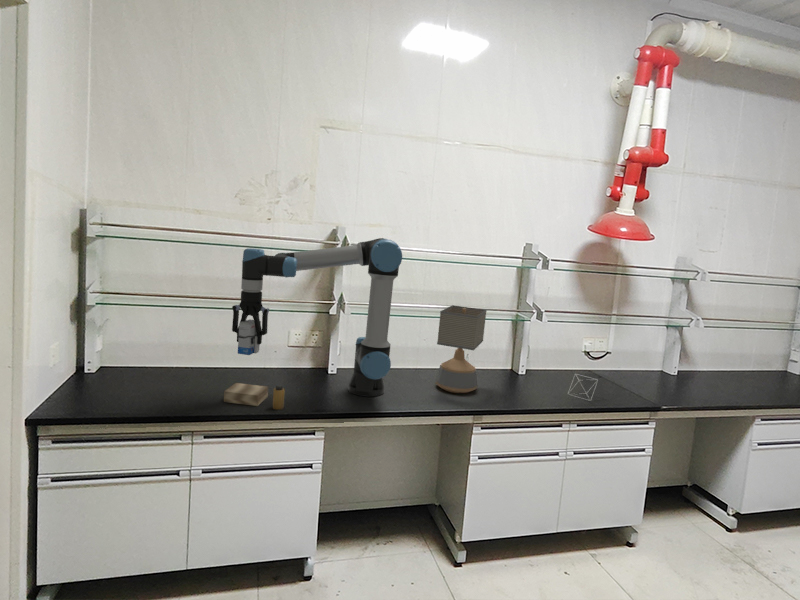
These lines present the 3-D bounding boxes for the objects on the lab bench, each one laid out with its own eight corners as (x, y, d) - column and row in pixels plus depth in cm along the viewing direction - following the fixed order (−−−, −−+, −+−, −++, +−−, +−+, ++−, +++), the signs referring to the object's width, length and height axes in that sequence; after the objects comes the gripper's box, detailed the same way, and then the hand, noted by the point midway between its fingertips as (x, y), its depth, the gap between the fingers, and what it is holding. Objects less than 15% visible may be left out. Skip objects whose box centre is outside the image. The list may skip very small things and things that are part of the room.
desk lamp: (471, 399, 229) (481, 314, 223) (428, 391, 235) (437, 308, 229) (481, 386, 249) (490, 308, 244) (441, 378, 255) (449, 302, 250)
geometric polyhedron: (575, 390, 256) (577, 372, 255) (598, 396, 249) (600, 378, 248) (564, 396, 246) (567, 376, 245) (588, 402, 240) (591, 382, 238)
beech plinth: (267, 396, 210) (268, 386, 209) (257, 405, 199) (258, 395, 198) (235, 392, 211) (235, 382, 210) (223, 401, 200) (224, 391, 199)
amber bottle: (285, 406, 201) (286, 385, 200) (281, 410, 197) (282, 388, 196) (274, 405, 201) (275, 384, 200) (271, 408, 197) (272, 387, 196)
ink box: (249, 355, 197) (250, 324, 196) (236, 353, 198) (238, 322, 197) (259, 350, 206) (261, 320, 204) (247, 349, 207) (249, 318, 205)
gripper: (279, 291, 202) (275, 352, 205) (232, 286, 203) (229, 346, 207) (272, 294, 194) (268, 356, 198) (223, 289, 196) (220, 351, 199)
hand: (248, 351), depth 202 cm, fingers closed on ink box, 5 cm apart
